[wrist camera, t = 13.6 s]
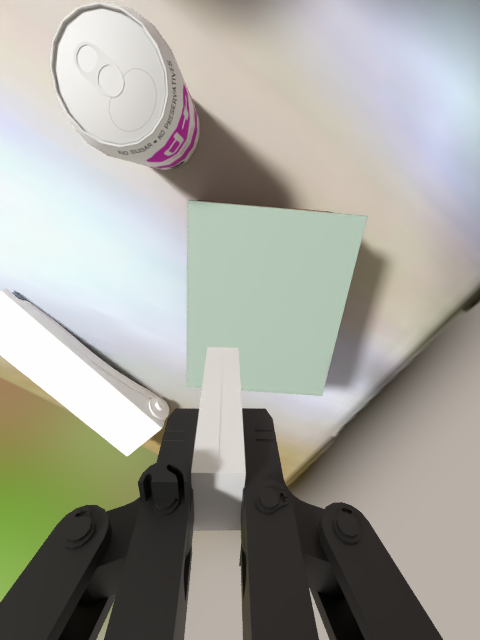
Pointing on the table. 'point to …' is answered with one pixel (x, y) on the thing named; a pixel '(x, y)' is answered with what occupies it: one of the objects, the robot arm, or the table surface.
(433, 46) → the table surface
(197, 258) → the lid
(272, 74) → the table surface
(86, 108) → the supplement can
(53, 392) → the white rectangular bar
